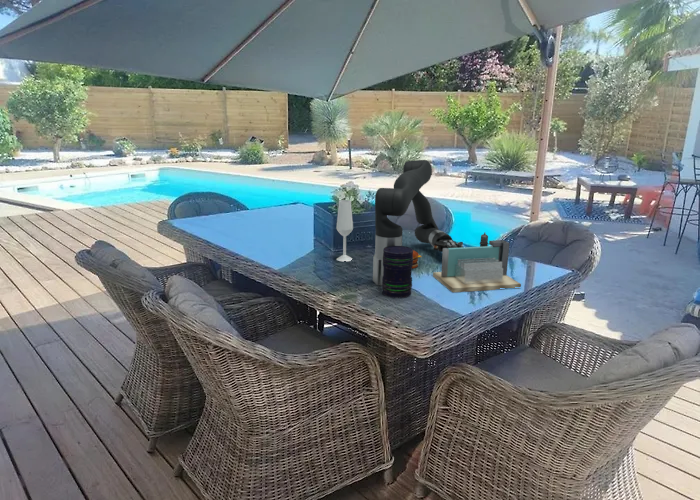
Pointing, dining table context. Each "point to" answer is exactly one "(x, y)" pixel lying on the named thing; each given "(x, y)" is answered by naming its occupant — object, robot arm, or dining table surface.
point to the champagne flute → (344, 225)
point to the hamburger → (415, 259)
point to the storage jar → (397, 271)
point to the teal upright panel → (464, 256)
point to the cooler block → (484, 266)
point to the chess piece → (484, 240)
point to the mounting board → (458, 286)
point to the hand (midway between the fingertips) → (456, 251)
